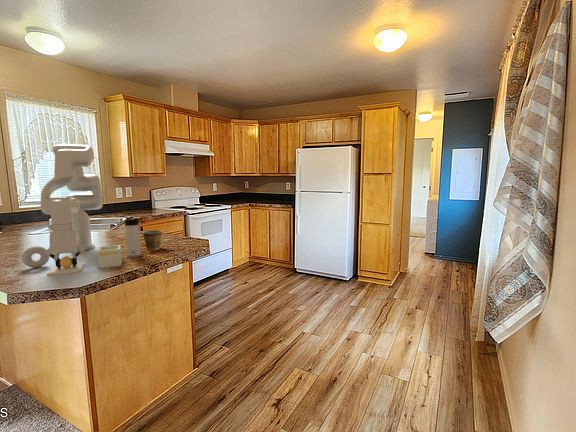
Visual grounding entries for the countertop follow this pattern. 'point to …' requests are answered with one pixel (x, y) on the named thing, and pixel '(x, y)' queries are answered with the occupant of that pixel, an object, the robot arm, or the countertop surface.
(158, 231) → the ceramic cup
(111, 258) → the cream lidded box
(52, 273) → the beige square board
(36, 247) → the donut
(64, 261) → the ochre ball
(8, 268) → the countertop surface
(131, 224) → the travel mug
